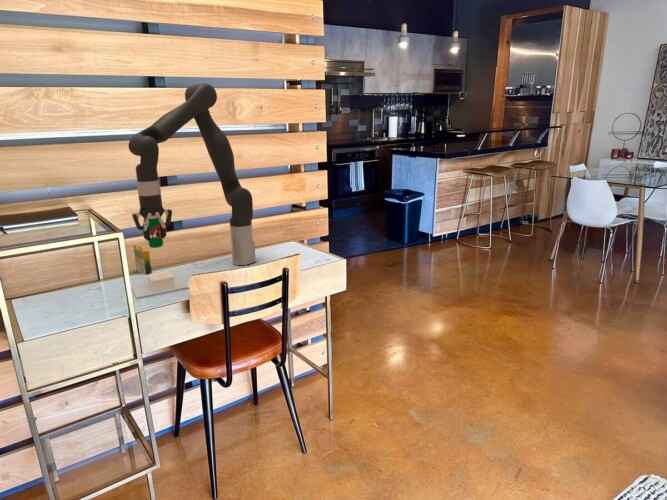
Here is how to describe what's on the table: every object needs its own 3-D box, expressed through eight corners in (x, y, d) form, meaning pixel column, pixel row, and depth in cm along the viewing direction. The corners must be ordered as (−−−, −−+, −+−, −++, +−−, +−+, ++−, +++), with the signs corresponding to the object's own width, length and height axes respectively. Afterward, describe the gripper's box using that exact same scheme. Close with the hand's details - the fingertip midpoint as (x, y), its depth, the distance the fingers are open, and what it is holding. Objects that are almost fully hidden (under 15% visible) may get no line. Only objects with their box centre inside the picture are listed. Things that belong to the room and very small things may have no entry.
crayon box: (152, 272, 191) (148, 246, 188) (145, 274, 189) (141, 247, 186) (143, 269, 196) (139, 242, 192) (136, 271, 194) (132, 244, 190)
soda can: (166, 244, 173) (162, 213, 170) (159, 248, 168) (155, 216, 165) (153, 244, 174) (149, 213, 170) (146, 248, 169) (142, 216, 165)
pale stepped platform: (183, 276, 186) (181, 265, 185) (193, 287, 175) (191, 276, 174) (130, 286, 176) (128, 275, 175) (137, 299, 165) (135, 287, 164)
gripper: (167, 189, 172) (172, 233, 177) (126, 193, 165) (132, 239, 170) (172, 192, 166) (178, 238, 171) (129, 197, 158) (136, 244, 163)
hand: (155, 238), depth 170 cm, fingers closed on soda can, 5 cm apart
